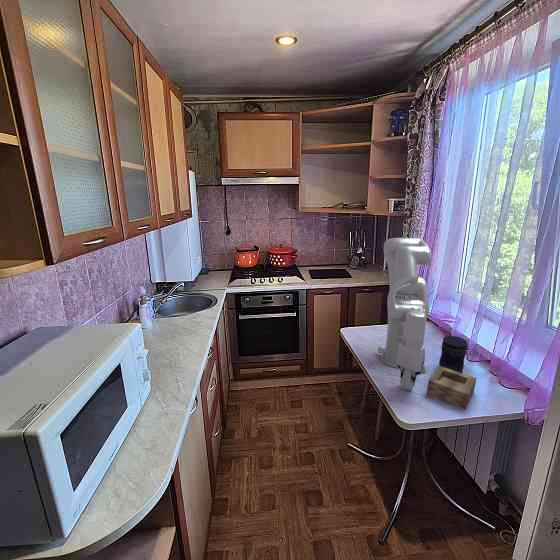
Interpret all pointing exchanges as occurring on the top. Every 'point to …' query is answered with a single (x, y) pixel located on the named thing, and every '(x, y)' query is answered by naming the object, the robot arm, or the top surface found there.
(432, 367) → the top surface
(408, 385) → the salt shaker
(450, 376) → the walnut open box
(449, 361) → the storage jar
